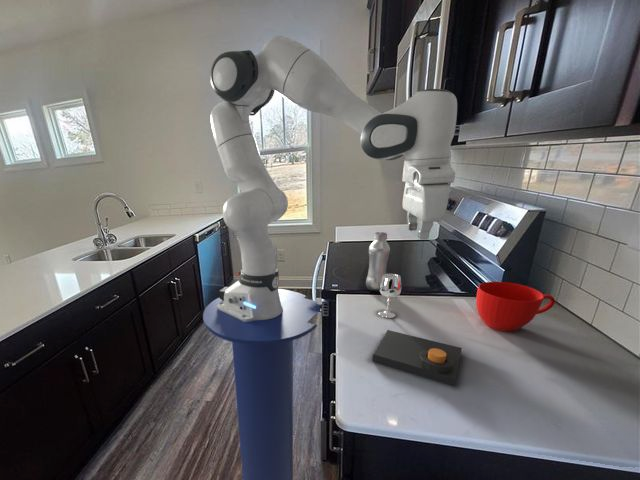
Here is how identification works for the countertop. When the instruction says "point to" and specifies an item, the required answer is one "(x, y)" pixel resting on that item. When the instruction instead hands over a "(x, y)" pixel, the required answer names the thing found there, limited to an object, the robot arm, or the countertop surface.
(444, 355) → the button
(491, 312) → the ceramic cup
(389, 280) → the wineglass
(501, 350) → the countertop surface
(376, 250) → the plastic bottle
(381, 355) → the dark grey button box
